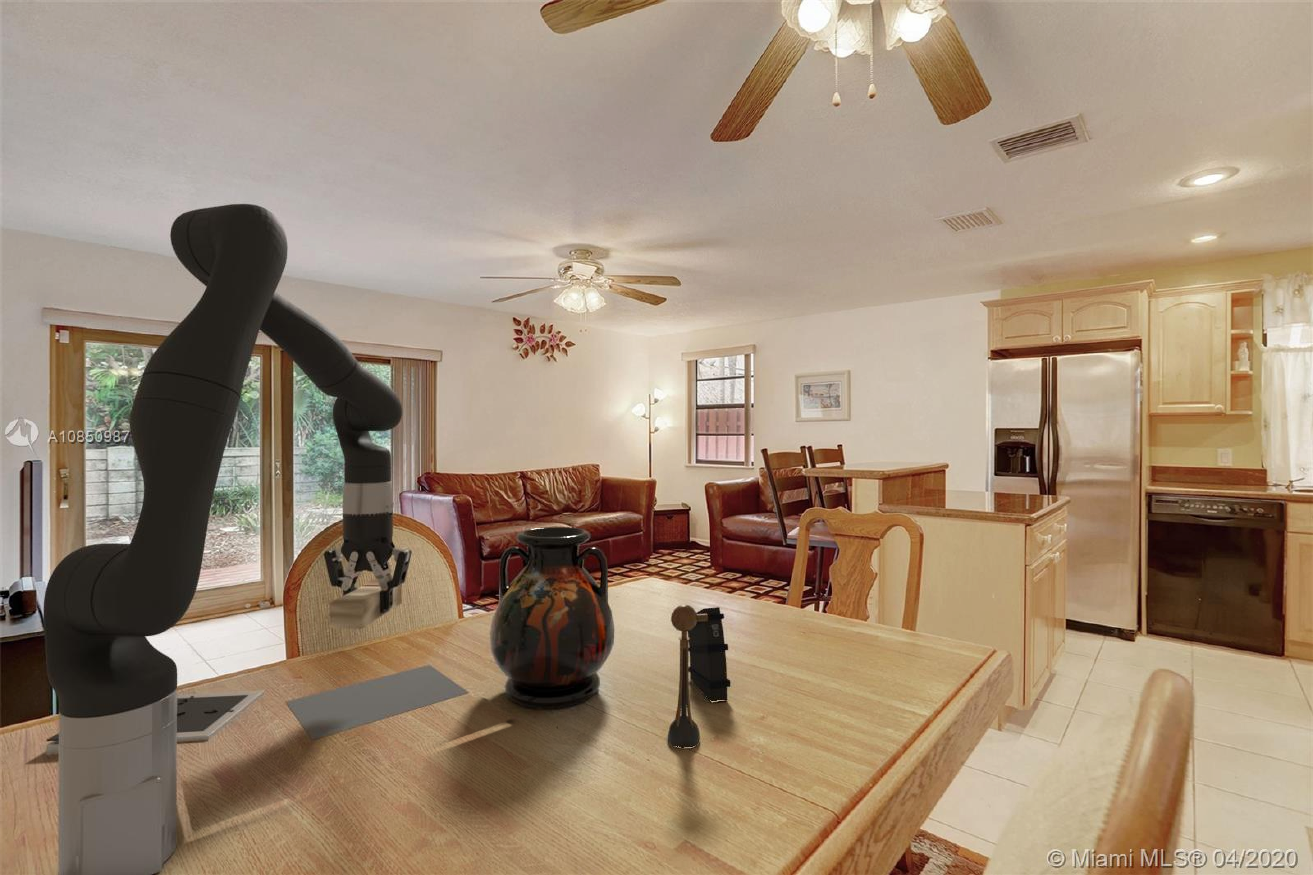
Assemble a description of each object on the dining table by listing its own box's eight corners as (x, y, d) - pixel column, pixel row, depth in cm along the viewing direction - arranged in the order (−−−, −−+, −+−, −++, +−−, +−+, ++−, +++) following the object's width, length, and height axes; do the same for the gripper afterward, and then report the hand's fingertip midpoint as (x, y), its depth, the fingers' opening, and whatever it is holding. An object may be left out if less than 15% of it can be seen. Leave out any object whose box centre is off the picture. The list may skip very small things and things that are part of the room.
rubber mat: (469, 697, 103) (469, 692, 103) (312, 745, 87) (312, 739, 87) (429, 669, 116) (429, 664, 116) (285, 706, 100) (285, 701, 100)
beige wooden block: (361, 628, 93) (361, 601, 93) (329, 628, 93) (329, 601, 93) (401, 603, 107) (401, 579, 107) (373, 603, 107) (373, 579, 107)
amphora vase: (471, 718, 96) (472, 542, 96) (509, 667, 117) (509, 522, 117) (607, 721, 95) (607, 543, 95) (619, 668, 116) (620, 523, 116)
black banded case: (716, 702, 98) (702, 608, 104) (691, 706, 109) (680, 621, 116) (737, 699, 99) (722, 606, 105) (710, 703, 110) (698, 619, 117)
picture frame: (46, 760, 84) (208, 750, 87) (46, 739, 84) (208, 730, 87) (128, 709, 100) (264, 702, 103) (128, 692, 100) (264, 686, 103)
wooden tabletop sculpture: (702, 731, 92) (703, 599, 92) (710, 746, 87) (711, 608, 87) (664, 734, 91) (665, 601, 91) (670, 750, 86) (671, 610, 86)
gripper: (311, 512, 96) (312, 618, 96) (401, 512, 96) (401, 619, 96) (337, 506, 104) (337, 605, 104) (420, 506, 104) (420, 605, 104)
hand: (368, 611), depth 100 cm, fingers closed on beige wooden block, 5 cm apart
